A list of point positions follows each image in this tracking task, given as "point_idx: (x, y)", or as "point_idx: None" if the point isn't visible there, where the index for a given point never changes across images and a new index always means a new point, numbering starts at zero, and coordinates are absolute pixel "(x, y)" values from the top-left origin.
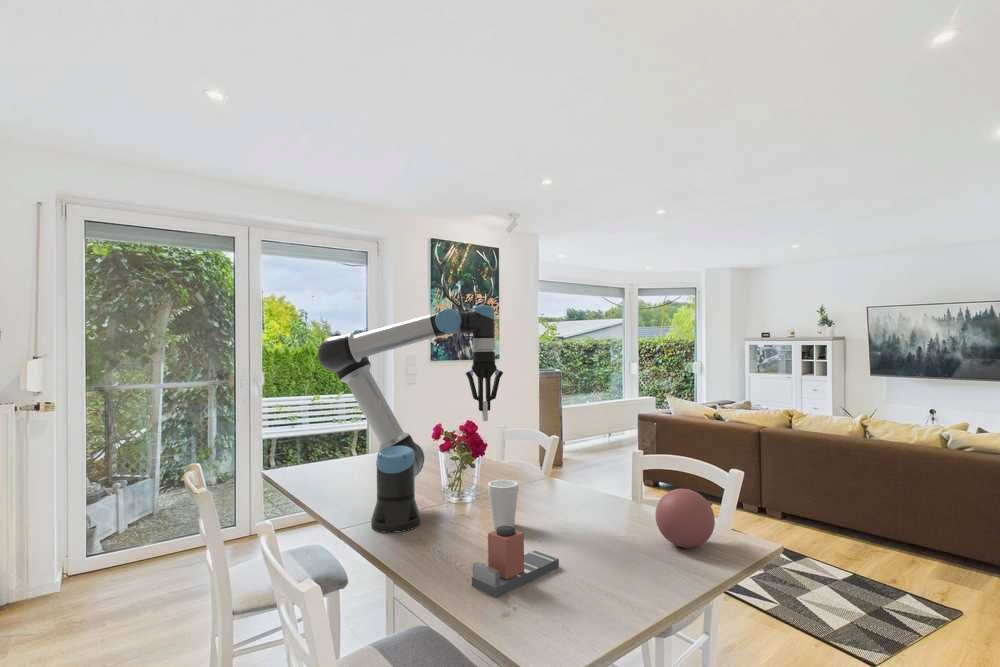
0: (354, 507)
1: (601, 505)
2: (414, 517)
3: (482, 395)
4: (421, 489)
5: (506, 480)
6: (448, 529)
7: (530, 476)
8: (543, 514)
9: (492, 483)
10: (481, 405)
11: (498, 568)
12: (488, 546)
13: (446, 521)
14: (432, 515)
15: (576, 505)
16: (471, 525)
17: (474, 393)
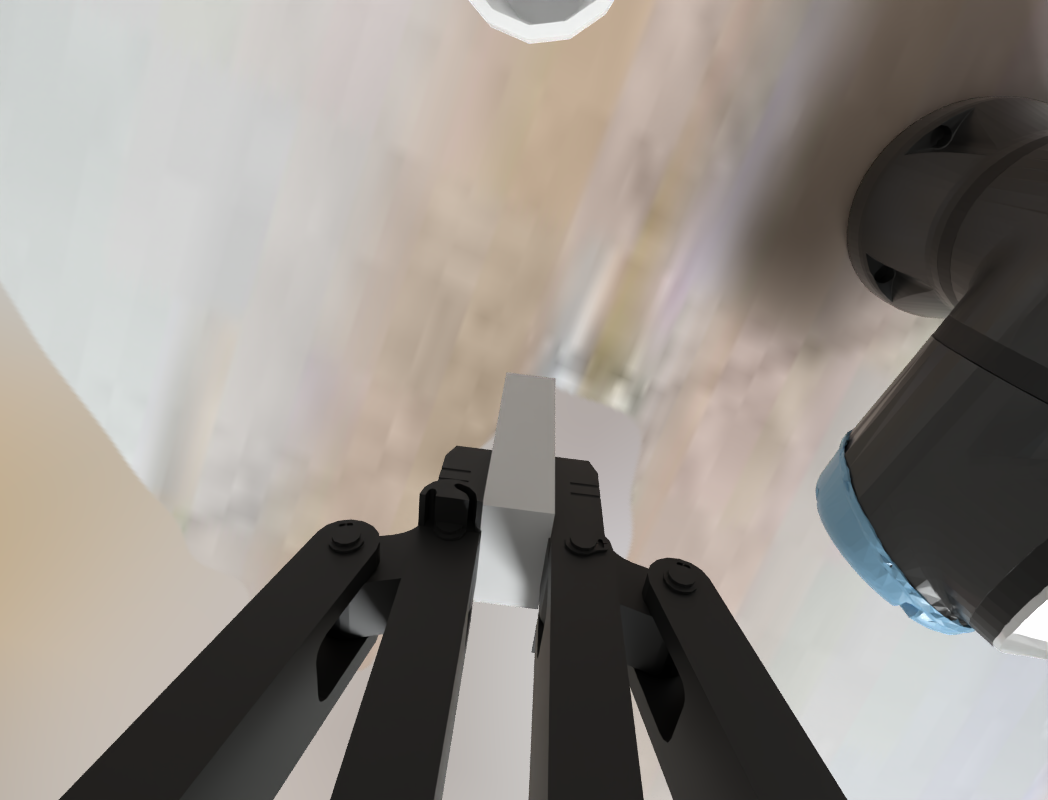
0: None
1: (10, 77)
2: (925, 149)
3: (564, 599)
4: None
5: (489, 4)
6: (792, 41)
7: (232, 567)
8: (314, 64)
9: (588, 5)
10: (571, 502)
11: None
12: None
13: (751, 159)
14: (769, 263)
15: (130, 130)
16: (677, 52)
17: (735, 655)
